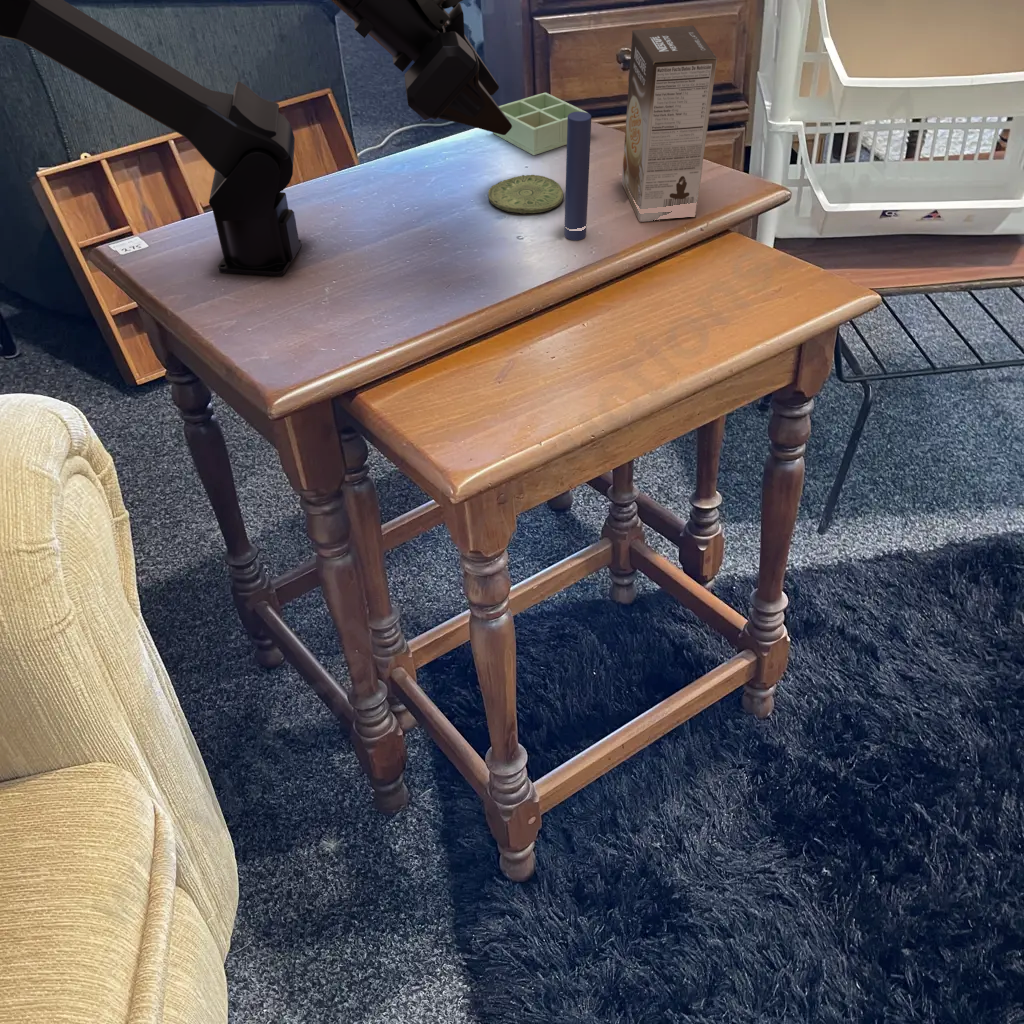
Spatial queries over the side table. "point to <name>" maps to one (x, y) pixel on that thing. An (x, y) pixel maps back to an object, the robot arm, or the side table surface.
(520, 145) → the grid
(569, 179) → the tall navy cylinder rod
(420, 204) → the side table surface
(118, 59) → the robot arm
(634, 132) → the coffee box
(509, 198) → the medallion
